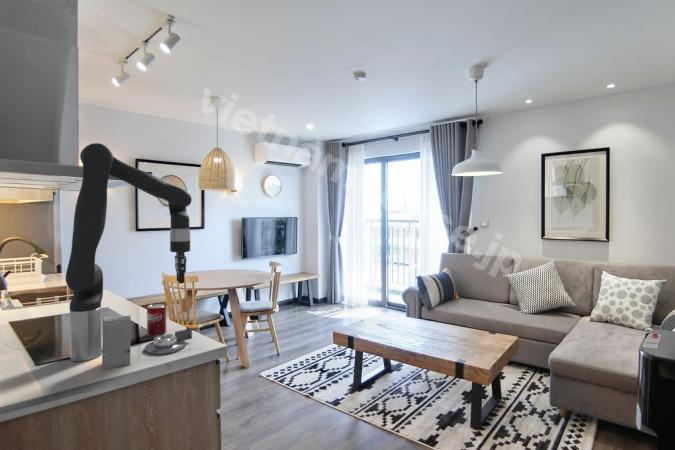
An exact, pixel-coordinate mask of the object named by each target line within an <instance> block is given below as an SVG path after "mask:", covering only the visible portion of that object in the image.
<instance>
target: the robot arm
mask: <svg viewBox="0 0 675 450" xmlns="http://www.w3.org/2000/svg"><path fill="white" fill-rule="evenodd" d="M79 157H80V158H79V159H80V161H81V163H82V183H81V186H80V190H79V193H78V195H77V199H76V203H75V210H74V216H73V217H74V218H73V227H72V238H71V239H72V240H71V250H70V255H69V259H68V260H69V261H68V264H67V268H66V273H65V283H66V285H67V287H68V288H69V289H70V290H72V291H73V294H72V298H71V300H70V302H69V330H68V333H69V335H68V336H69V358H70V361H71V363H74V362H85V361H89V360H90V361H91V360H93V359H96V358H99V357H100V356H102V340H103V337H102V300H103V296H104V274H103V270H102V268H101V267H100V266H99V265H98V264H97V263H96V253H97V248H98V246H99V243H100V242H101V239H102V236H103V234H104V231H105V226H106V219H107V208H108V207H107V206H108V184H109V183H108V182H109V178H110V176H111V177H114V178H117V179H118V180H120V181H123V182H124V183H127V184H128V185H131V186H133V187H135V188H137V189H138V190H141V191H142V192H144V193H147V194H149V195H151V196H152V197H155V198H157V199H162V200H164V201H166V202H168V203H167V204H168V211H169V216H170V230H169V231H170V232H169V233H170V234H169V252H171V253H176V254H175V255H174V258H173V259H174V267H175V268H174V269H175V272H176V282H178V284H184V283H185V276H186V275H185V274H186V273H187V256H186V255H185V253H188V252H190V251H191V230H190V216H189V215H188V213H187V207H188V206H190V205H191V203H192V199H193V198H192V194H190V193H189V192H188V191H187V190H186V189H183V188H181V187H178V186H176V185H174V184H171V183H168V182H167V181H165V180H163V179H161V178H159V177H157V176H155V175H153V174H151V173H149V172H146V171H144V170H141V169H139V168H137V167H134V166H131V165H130V164H127V163H125V162H124V161H121V160H120V159H118V158H117V157H115V156H114V155H113V152H112V151H111V150H110V148H109V147H108V146H106V145H105V144H102V143H98V142H95V143H90V144H88V145H86V146H85V147H84V148H83V149H82V150H81V151H80V154H79Z"/></svg>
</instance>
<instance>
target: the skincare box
mask: <svg viewBox="0 0 675 450" xmlns="http://www.w3.org/2000/svg"><path fill="white" fill-rule="evenodd" d="M131 323H132V318H131V315H120V316H119V315H118V316H117V315H116V316H109V317H108V316H107V317H103V318H102V354H101V361H102V363H101V364H102V365H101V366H102V370H108V369H114V368H119V367H123V366H124V367H125V366H130V365H131V341H132V340H131V333H132V332H131V331H132V330H131V329H132V325H131Z"/></svg>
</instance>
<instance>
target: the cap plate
mask: <svg viewBox="0 0 675 450" xmlns="http://www.w3.org/2000/svg"><path fill="white" fill-rule="evenodd" d="M185 348H186V340H184V341H180V342H177V344H176V345H175V346H173V347H169V348H163V349H159V348H155V347H154V341H152V342H149V343H147V344H146V345H145V346H144V353H145V354H147V355H149V356H163V355H170V354H174V353H178V352H180V351H182V350H183V349H185Z"/></svg>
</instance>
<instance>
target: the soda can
mask: <svg viewBox="0 0 675 450" xmlns="http://www.w3.org/2000/svg"><path fill="white" fill-rule="evenodd" d="M146 334H147V336H148V337H150V336H151V338H152V337H153V338H154V337H155V336H165V335H166V334H167V306H166V304H163V303H157V304H150V305H148V306H147V307H146Z"/></svg>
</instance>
